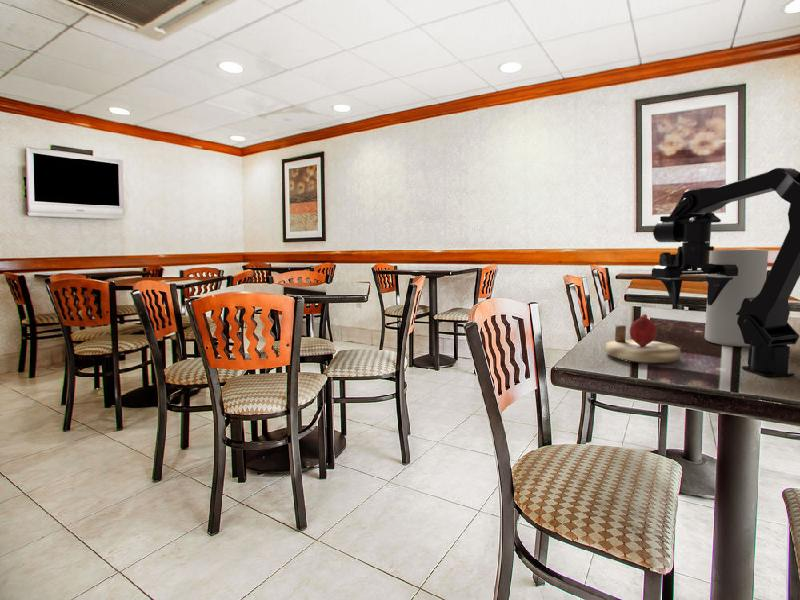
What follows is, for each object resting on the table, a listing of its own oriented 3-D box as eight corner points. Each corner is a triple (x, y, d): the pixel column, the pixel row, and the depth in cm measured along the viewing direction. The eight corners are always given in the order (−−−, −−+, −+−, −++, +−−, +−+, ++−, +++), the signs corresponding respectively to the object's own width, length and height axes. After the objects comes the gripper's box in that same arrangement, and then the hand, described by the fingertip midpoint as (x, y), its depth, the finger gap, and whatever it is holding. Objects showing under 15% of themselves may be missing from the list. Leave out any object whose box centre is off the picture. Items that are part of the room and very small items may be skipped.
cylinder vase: (703, 335, 134) (708, 250, 130) (757, 339, 127) (764, 249, 124) (705, 344, 123) (711, 251, 120) (764, 349, 117) (772, 251, 113)
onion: (653, 350, 107) (655, 316, 106) (627, 347, 111) (628, 314, 110) (657, 345, 112) (659, 313, 111) (631, 342, 115) (633, 311, 114)
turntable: (695, 357, 107) (697, 333, 106) (644, 365, 101) (645, 340, 101) (638, 343, 122) (639, 322, 121) (591, 350, 116) (592, 327, 115)
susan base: (681, 362, 106) (681, 360, 106) (632, 365, 105) (632, 362, 105) (649, 350, 118) (649, 348, 118) (604, 352, 117) (604, 350, 117)
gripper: (707, 241, 120) (703, 300, 122) (639, 243, 118) (637, 302, 120) (742, 241, 109) (737, 306, 111) (668, 243, 107) (664, 308, 109)
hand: (692, 305), depth 113 cm, fingers open, 9 cm apart
